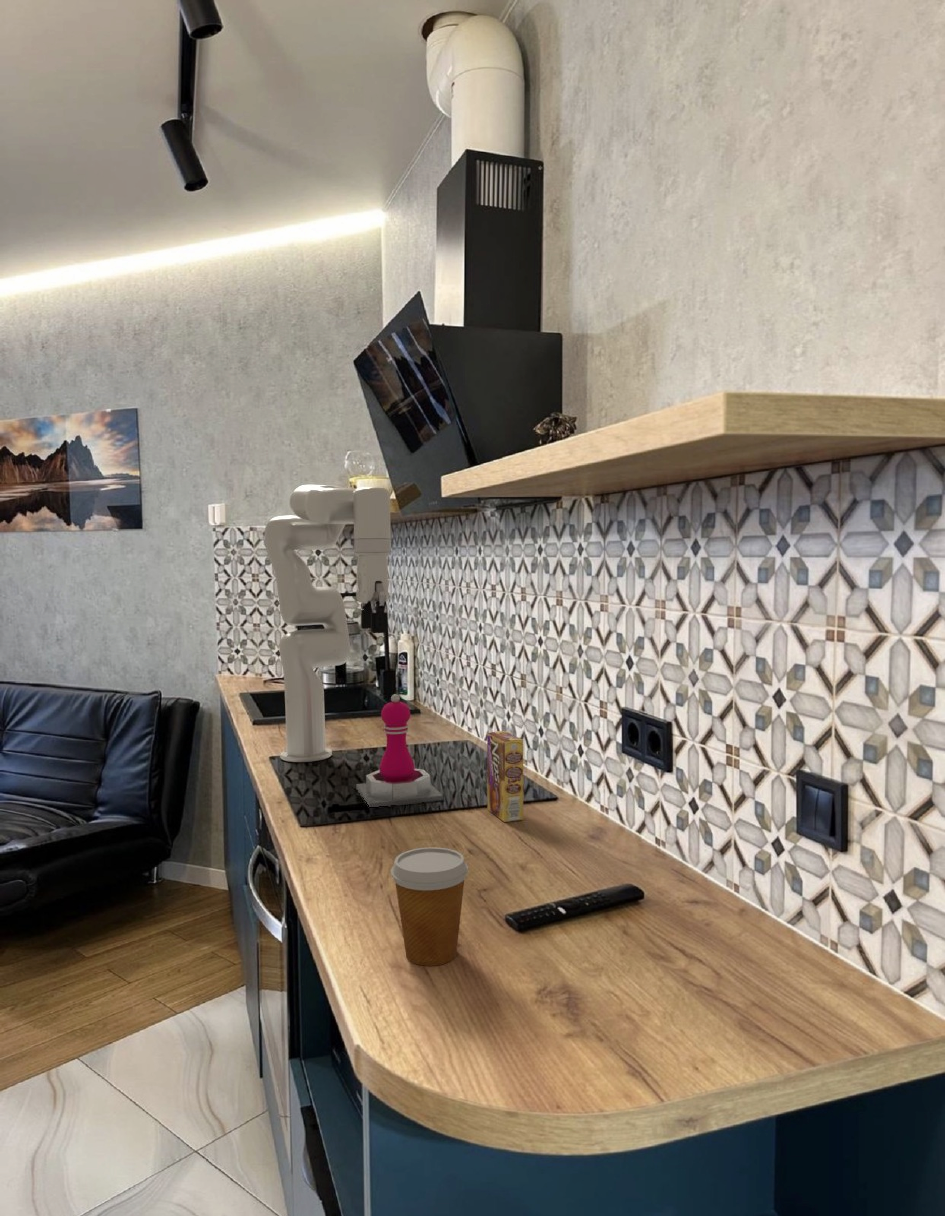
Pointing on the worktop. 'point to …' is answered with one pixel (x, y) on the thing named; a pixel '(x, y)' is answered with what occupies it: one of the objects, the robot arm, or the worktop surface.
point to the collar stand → (398, 790)
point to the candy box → (505, 776)
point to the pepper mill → (396, 742)
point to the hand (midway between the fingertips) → (373, 630)
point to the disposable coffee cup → (430, 902)
